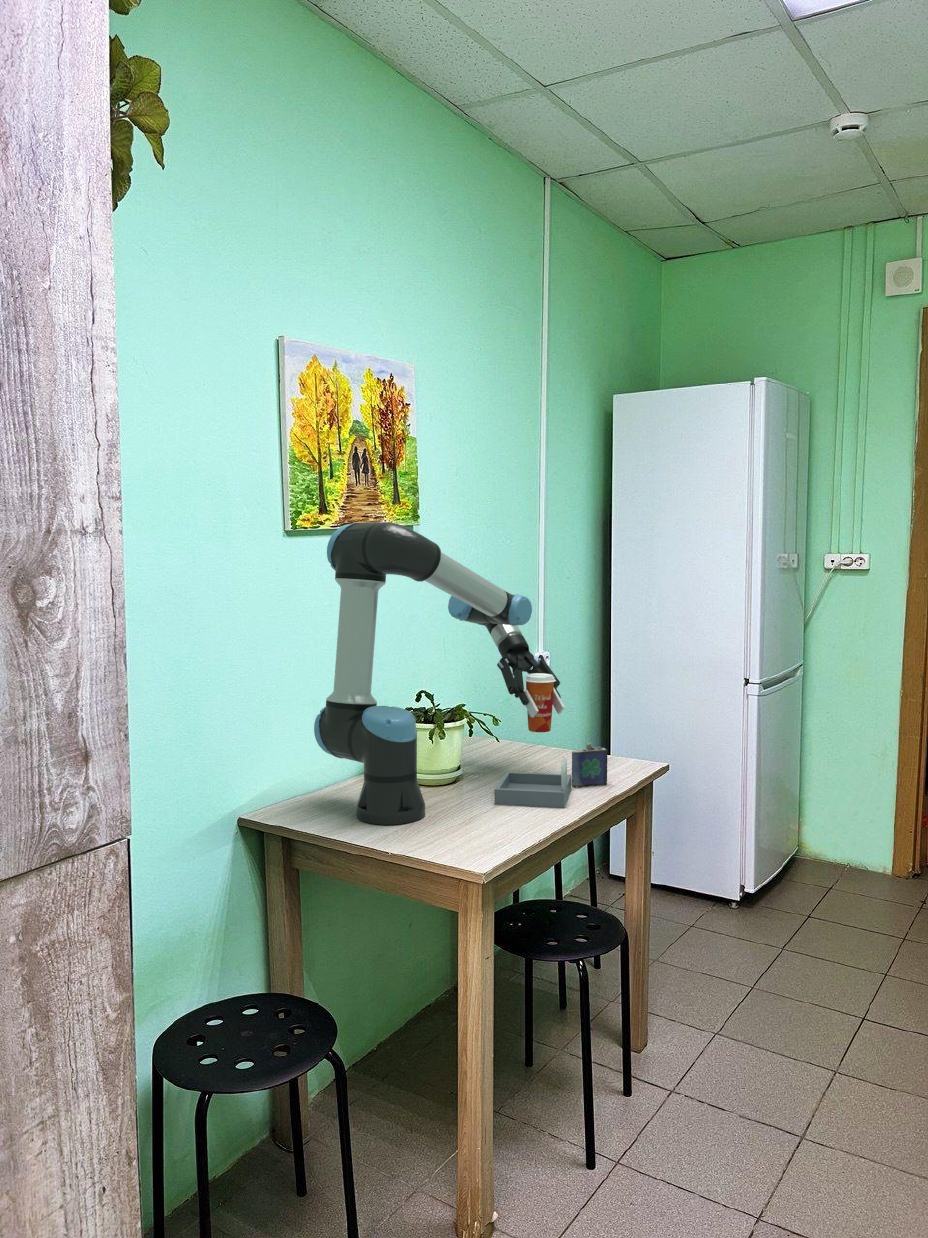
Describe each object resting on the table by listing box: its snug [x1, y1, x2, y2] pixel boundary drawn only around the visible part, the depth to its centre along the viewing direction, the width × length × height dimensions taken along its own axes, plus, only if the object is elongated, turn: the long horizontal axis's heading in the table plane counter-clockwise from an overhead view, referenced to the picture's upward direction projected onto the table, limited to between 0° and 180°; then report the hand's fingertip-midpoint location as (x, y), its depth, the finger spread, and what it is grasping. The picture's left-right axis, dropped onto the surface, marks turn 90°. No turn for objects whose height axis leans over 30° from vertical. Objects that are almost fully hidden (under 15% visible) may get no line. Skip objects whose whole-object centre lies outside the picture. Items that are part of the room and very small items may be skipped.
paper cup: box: [524, 673, 556, 733], centre depth 230 cm, size 8×8×14 cm
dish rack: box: [493, 756, 572, 809], centre depth 215 cm, size 16×16×10 cm
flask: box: [571, 741, 609, 789], centre depth 224 cm, size 9×3×11 cm, turn 105°
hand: (548, 712), depth 227 cm, fingers closed on paper cup, 8 cm apart
